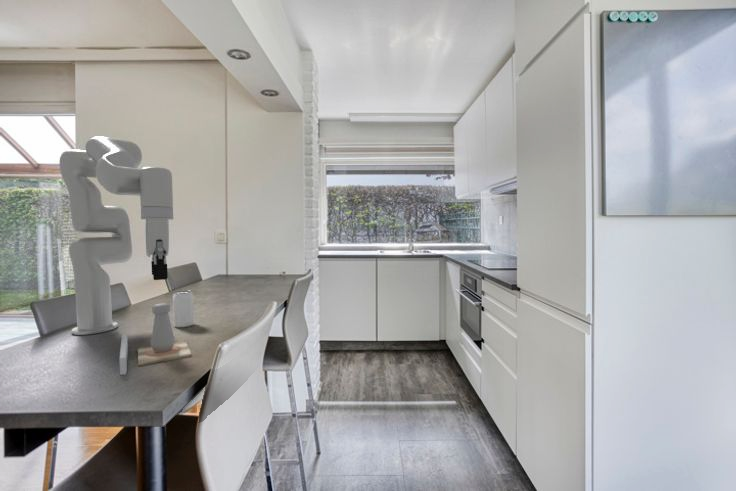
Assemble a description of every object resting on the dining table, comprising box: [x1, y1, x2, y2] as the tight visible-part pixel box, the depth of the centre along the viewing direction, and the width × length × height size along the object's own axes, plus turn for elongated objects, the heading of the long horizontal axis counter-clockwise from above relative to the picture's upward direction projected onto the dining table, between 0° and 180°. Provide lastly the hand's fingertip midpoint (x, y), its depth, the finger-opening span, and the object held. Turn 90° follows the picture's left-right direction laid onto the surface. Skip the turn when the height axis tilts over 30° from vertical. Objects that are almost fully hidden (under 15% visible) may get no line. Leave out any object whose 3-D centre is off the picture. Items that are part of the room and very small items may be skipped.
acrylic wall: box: [118, 334, 129, 376], centre depth 93 cm, size 22×1×4 cm, turn 33°
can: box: [172, 289, 196, 329], centre depth 126 cm, size 6×6×12 cm
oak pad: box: [137, 339, 192, 367], centre depth 98 cm, size 14×12×1 cm
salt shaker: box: [150, 302, 176, 353], centre depth 98 cm, size 6×6×13 cm
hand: (159, 277), depth 97 cm, fingers open, 9 cm apart
